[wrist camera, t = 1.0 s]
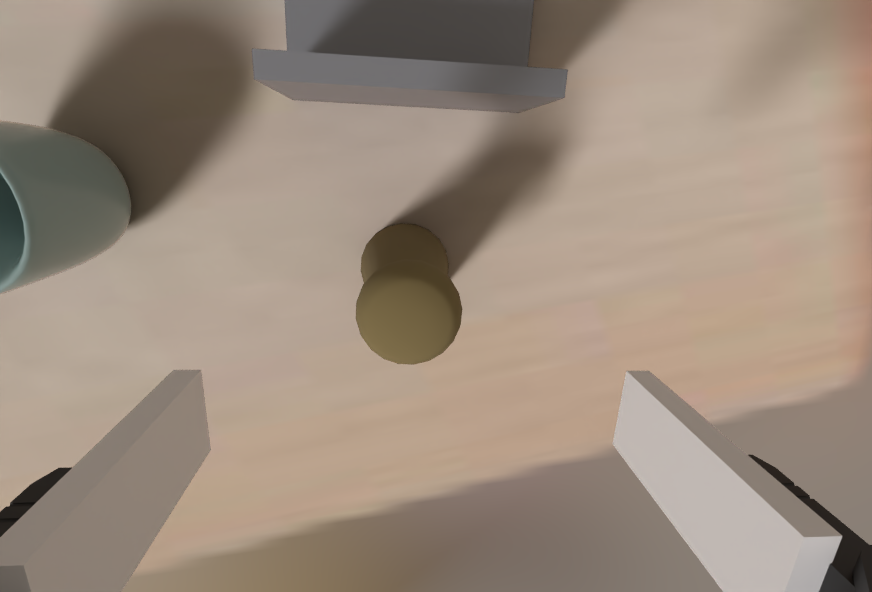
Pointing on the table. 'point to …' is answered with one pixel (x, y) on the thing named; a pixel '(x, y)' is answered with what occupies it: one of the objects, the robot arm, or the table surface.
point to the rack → (410, 55)
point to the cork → (407, 296)
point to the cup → (55, 203)
